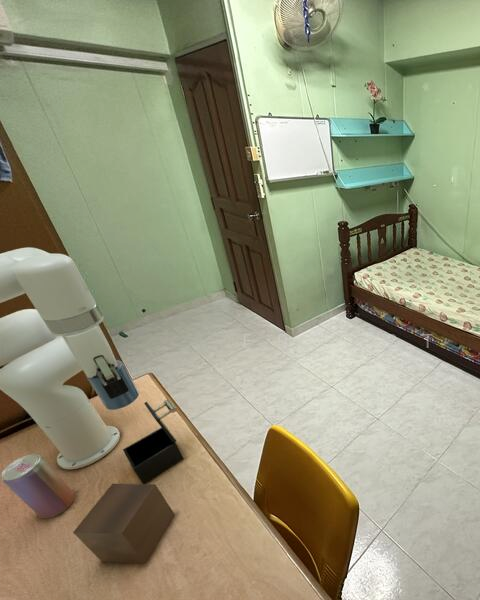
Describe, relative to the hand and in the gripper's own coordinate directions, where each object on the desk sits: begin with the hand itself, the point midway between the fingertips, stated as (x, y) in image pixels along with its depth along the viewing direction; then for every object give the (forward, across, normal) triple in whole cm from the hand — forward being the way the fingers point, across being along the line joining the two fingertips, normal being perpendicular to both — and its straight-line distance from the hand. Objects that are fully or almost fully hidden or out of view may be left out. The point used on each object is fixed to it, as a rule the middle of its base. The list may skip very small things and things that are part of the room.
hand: (114, 386), depth 68 cm
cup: (+4, 0, 0) cm, 4 cm away
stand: (+27, +16, -9) cm, 33 cm away
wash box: (+27, 0, 0) cm, 27 cm away
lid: (+15, 0, +4) cm, 16 cm away
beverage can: (+27, -6, -18) cm, 33 cm away
